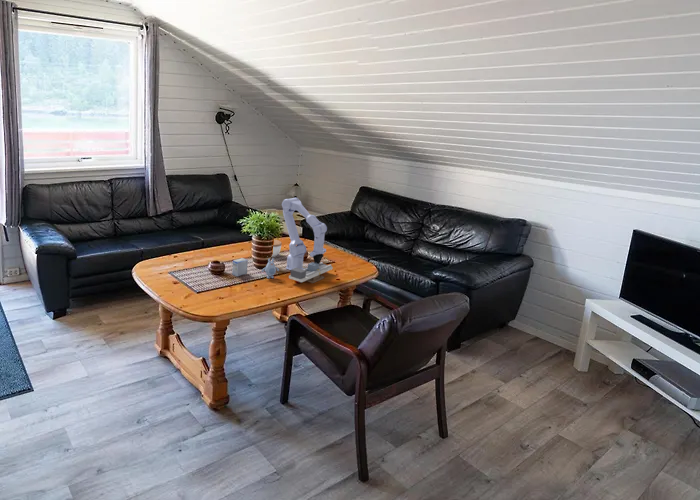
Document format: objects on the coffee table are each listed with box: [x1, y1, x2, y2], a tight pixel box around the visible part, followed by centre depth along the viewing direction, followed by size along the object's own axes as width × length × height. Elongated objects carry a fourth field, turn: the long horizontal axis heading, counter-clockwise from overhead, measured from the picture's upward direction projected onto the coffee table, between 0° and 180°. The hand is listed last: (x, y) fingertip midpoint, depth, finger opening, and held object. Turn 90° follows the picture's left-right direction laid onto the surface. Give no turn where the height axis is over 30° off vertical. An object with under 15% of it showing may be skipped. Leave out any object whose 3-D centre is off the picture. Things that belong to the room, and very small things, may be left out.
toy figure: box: [261, 257, 280, 279], centre depth 295 cm, size 11×6×12 cm, turn 116°
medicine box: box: [231, 257, 249, 277], centre depth 296 cm, size 8×4×9 cm, turn 146°
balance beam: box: [288, 261, 333, 284], centre depth 302 cm, size 11×32×8 cm, turn 150°
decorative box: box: [271, 239, 282, 258], centre depth 335 cm, size 13×13×11 cm
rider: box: [307, 261, 319, 272], centre depth 302 cm, size 4×5×4 cm
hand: (316, 265), depth 305 cm, fingers closed
